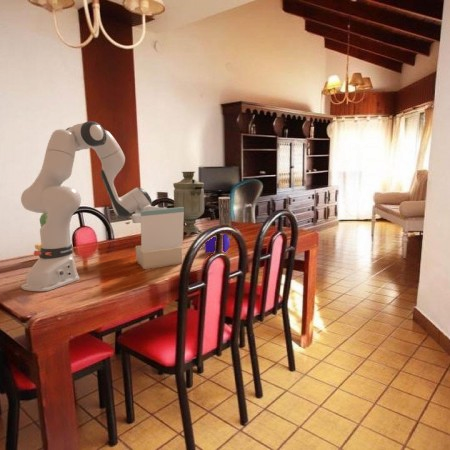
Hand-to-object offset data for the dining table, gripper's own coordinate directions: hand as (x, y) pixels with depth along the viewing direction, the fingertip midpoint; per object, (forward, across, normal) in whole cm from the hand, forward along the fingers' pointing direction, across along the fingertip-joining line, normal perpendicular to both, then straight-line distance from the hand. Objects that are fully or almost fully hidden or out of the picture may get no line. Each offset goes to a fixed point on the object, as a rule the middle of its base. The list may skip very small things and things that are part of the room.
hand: (157, 218), depth 168 cm
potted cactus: (-38, -46, +21) cm, 63 cm away
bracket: (-9, +36, +22) cm, 43 cm away
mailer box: (-1, 0, +21) cm, 21 cm away
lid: (+8, 0, +3) cm, 9 cm away
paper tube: (-29, +48, +22) cm, 60 cm away
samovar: (-59, +34, +22) cm, 71 cm away
